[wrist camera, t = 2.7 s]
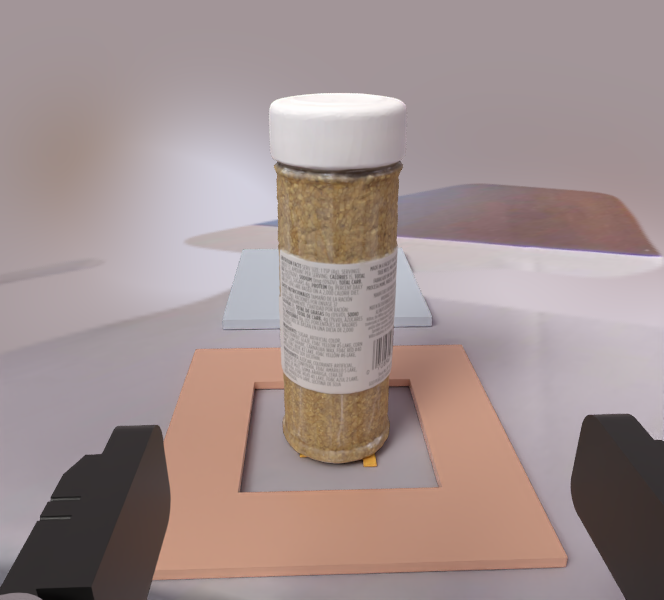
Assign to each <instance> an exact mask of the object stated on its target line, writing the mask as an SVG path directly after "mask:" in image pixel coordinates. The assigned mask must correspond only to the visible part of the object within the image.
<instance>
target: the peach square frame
mask: <svg viewBox="0 0 664 600" xmlns="http://www.w3.org/2000/svg"><path fill="white" fill-rule="evenodd" d="M389 386H409V387H410V390H411V394H412V397H413V401H414V404H415V408H416V411H417V414H418V418H419V421H420V425H421V428H422V432H423V435H424V438H425V442H426V445H427V449H428V452H429V456H430V459H431V462H432V466H433V469H434V473H435V476H436V480H437V483H438V486H439V487H435V488H396V489H358V490H319V491H281V492H242V493H240V487H241V480H242V473H243V467H244V460H245V453H246V446H247V439H248V432H249V425H250V418H251V411H252V404H253V397H254V390H255V389H284V379H283V369H282V365H281V348H232V349H196V350H195V353H194V356H193V358H192V361H191V364H190V367H189V370H188V373H187V376H186V379H185V381H184V384H183V387H182V390H181V393H180V396H179V399H178V402H177V404H176V407H175V410H174V413H173V416H172V419H171V422H170V425H169V427H168V430H167V433H166V436H165V439H164V442H163V444H164V450H165V457H166V464H167V471H168V478H169V485H170V493H171V506H170V516H169V522H168V526H167V530H166V533H165V537H164V540H163V544H162V547H161V551H160V554H159V558H158V561H157V565H156V568H155V572H154V575H153V579H152V580H166V579H198V578H230V577H262V576H294V575H326V574H358V573H390V572H422V571H454V570H486V569H518V568H550V567H566V563H567V559H568V557H567V555H566V553H565V551H564V549H563V547H562V545H561V543H560V541H559V539H558V537H557V535H556V533H555V531H554V529H553V527H552V525H551V523H550V521H549V519H548V517H547V515H546V513H545V511H544V509H543V507H542V505H541V503H540V501H539V499H538V497H537V495H536V493H535V491H534V489H533V487H532V485H531V483H530V481H529V479H528V477H527V475H526V473H525V471H524V469H523V467H522V465H521V463H520V461H519V459H518V457H517V455H516V453H515V451H514V449H513V447H512V445H511V443H510V441H509V439H508V437H507V435H506V433H505V431H504V429H503V427H502V425H501V423H500V421H499V419H498V417H497V415H496V413H495V411H494V409H493V407H492V405H491V403H490V401H489V399H488V397H487V395H486V393H485V391H484V389H483V387H482V385H481V383H480V381H479V378H478V376H477V374H476V372H475V370H474V368H473V366H472V364H471V362H470V360H469V358H468V356H467V354H466V352H465V350H464V348H463V346H462V345H411V346H393V352H392V367H391V371H390V374H389ZM300 457H307V456H304V455H302V454H300ZM363 465H364V467H371V466H377V464H376V458H375V453H374V454H372V455H370V456H368V457H365V458H363Z"/></svg>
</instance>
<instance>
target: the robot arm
mask: <svg viewBox="0 0 664 600" xmlns="http://www.w3.org/2000/svg"><path fill="white" fill-rule="evenodd" d="M571 495H572V500H573V504H574V507H575V510H576V512H577V514H578V516H579V518H580V519H581V521H582V523H583V525H584V526H585V528H586V530H587V532H588V533H589V535H590V537H591V539H592V541H593V542H594V544H595V546H596V548H597V549H598V551H599V553H600V555H601V556H602V558H603V560H604V562H605V563H606V565H607V567H608V569H609V570H610V572H611V574H612V576H613V578H614V579H615V581H616V583H617V585H618V586H619V588H620V590H621V592H622V593H623V595H624V597H625V599H626V600H664V441H662V440H654V439H653V438H652V437H651V436H650V435H649V433H648V432H647V431H646V430H645V429H644V428H643V427H642V425H641V424H640V423H639V422H638V421H637V420H636V418H635V417H633V416H632V415H630V414H602V415H588V416H586V417H585V419H584V421H583V423H582V427H581V432H580V437H579V442H578V447H577V452H576V457H575V462H574V467H573V472H572V477H571ZM170 506H171V493H170V485H169V478H168V471H167V464H166V457H165V450H164V444H163V437H162V432H161V429H160V427H159V426H158V425H141V426H117V427H116V428H115V429H114V431H113V433H112V435H111V437H110V439H109V441H108V443H107V445H106V447H105V449H104V451H103V453H102V454H96V455H85V456H84V457H83V458H82V459H80V460H79V461H78V462H77V463H76V464H75V465H74V466H72V467H71V468H70V469H69V470H68V471H67V472H66V473H64V474H63V476H62V478H61V480H60V481H59V483H58V485H57V487H56V489H55V490H54V492H53V494H52V496H51V501H50V502H48V503H47V505H46V506H45V508H44V510H43V512H42V514H41V515H40V521H37V523H36V524H35V526H34V528H33V530H32V532H31V533H30V535H29V537H28V539H27V541H26V542H25V544H24V546H23V548H22V550H21V551H20V553H19V555H18V557H17V558H16V560H15V562H14V564H13V566H12V567H11V569H10V571H9V573H8V575H7V576H6V578H5V580H4V582H3V584H2V585H1V587H0V600H147V596H148V593H149V589H150V586H151V582H152V579H153V575H154V572H155V568H156V565H157V561H158V558H159V554H160V551H161V547H162V544H163V540H164V537H165V533H166V530H167V526H168V522H169V516H170Z"/></svg>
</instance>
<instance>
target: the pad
mask: <svg viewBox="0 0 664 600" xmlns="http://www.w3.org/2000/svg"><path fill="white" fill-rule="evenodd" d="M279 264H280V263H279V250H278V249H243V250H242V254H241V257H240V261H239V264H238V267H237V271H236V274H235V278H234V281H233V285H232V288H231V291H230V295H229V298H228V302H227V305H226V309H225V312H224V315H223V319H222V324H223V329H279V328H280V317H279V295H280V289H279V287H280V279H279V272H280V271H279ZM407 326H432V315H431V313H430V311H429V308H428V306H427V304H426V302H425V299H424V297H423V295H422V293H421V290H420V288H419V286H418V284H417V281H416V279H415V277H414V275H413V272H412V270H411V268H410V265H409V263H408V261H407V259H406V256H405V254H404V252H403V250H402V248H398V253H397V274H396V298H395V315H394V327H407Z"/></svg>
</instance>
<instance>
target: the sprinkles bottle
mask: <svg viewBox="0 0 664 600" xmlns="http://www.w3.org/2000/svg"><path fill="white" fill-rule="evenodd" d="M269 131H270V154H271V156H272V158H273V159H275V160H276V161H278V162H277V163H276V164H275V165H274V168H275V170H276V173H277V200H278V241H279V245H278V250H279V263H280V264H279V271H280V272H279V279H280V287H279V289H280V295H279V317H280V344H281V365H282V369H283V379H284V403H285V415H284V418H283V433H284V435H285V437H286V440H287V441H288V442H289V444H290V446H292V447H293V448H294V450H295V451H296V452H298V453H300V454H302V455H304V456H307V457H309V458H312V459H314V460H317V461H321V462H327V463H335V464H336V463H346V462H351V461H357V460H361V459H363V458H365V457H368V456H370V455H372V454H374V453H375V452H376V451H378V450H379V449H380V448H381V447H382V446H383V444H384V442H385V441H386V440H387V438H388V435H389V427H390V423H389V419H388V415H387V412H388V391H389V374H390V371H391V367H392V352H393V331H394V315H395V298H396V274H397V253H398V245H397V241H396V239H397V222H398V213H397V209H398V205H397V202H398V189H399V179H398V176H399V174H400V171H401V170H402V168H403V164H402V163H401V162H400V160H402V159H403V158H404V157H405V153H406V131H407V108H406V106H405V104H404V103H403V102H402V101H401V100H399V99H395V98H391V97H386V96H377V95H369V94H354V93H322V94H308V95H299V96H291V97H285V98H281V99H278V100H276V101H274V102H273V103H272V104H271V106H270V109H269Z"/></svg>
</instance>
